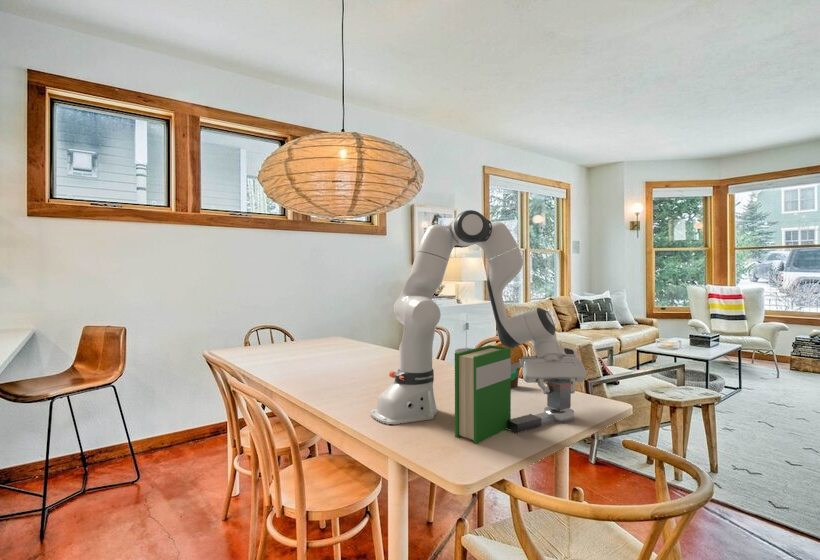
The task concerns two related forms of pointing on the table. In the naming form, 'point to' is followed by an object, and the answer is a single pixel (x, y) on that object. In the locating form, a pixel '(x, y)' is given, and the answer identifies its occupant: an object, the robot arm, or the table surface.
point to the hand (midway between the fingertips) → (559, 393)
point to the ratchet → (540, 419)
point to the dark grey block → (559, 394)
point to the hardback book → (482, 392)
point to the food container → (514, 374)
